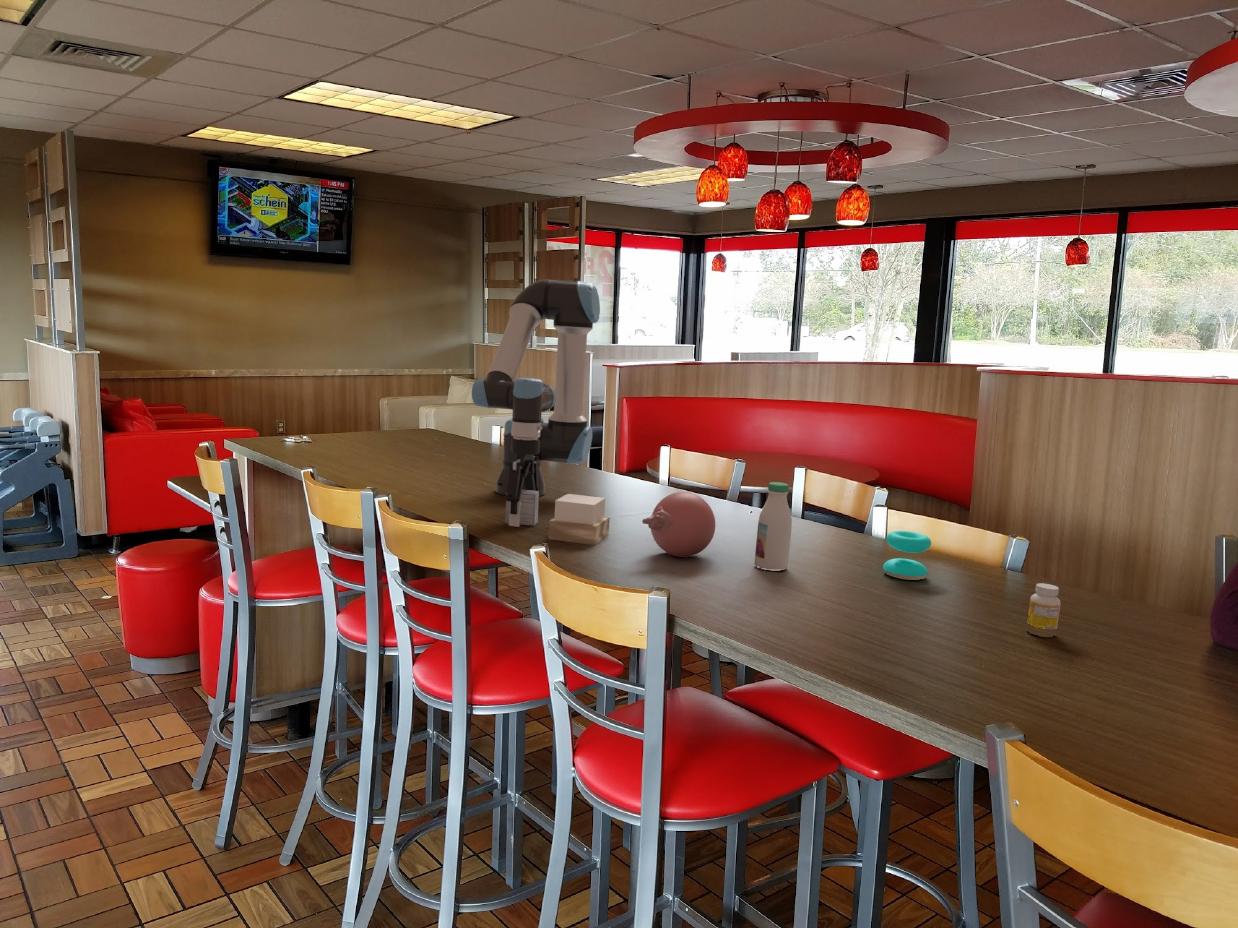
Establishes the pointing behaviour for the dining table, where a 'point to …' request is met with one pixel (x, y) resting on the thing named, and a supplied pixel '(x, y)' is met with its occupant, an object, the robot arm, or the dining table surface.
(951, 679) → the dining table surface
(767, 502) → the milk bottle
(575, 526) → the birch base block
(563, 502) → the off-white top block
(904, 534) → the donuts
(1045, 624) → the supplement bottle
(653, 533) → the round balloon
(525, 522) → the medicine box
